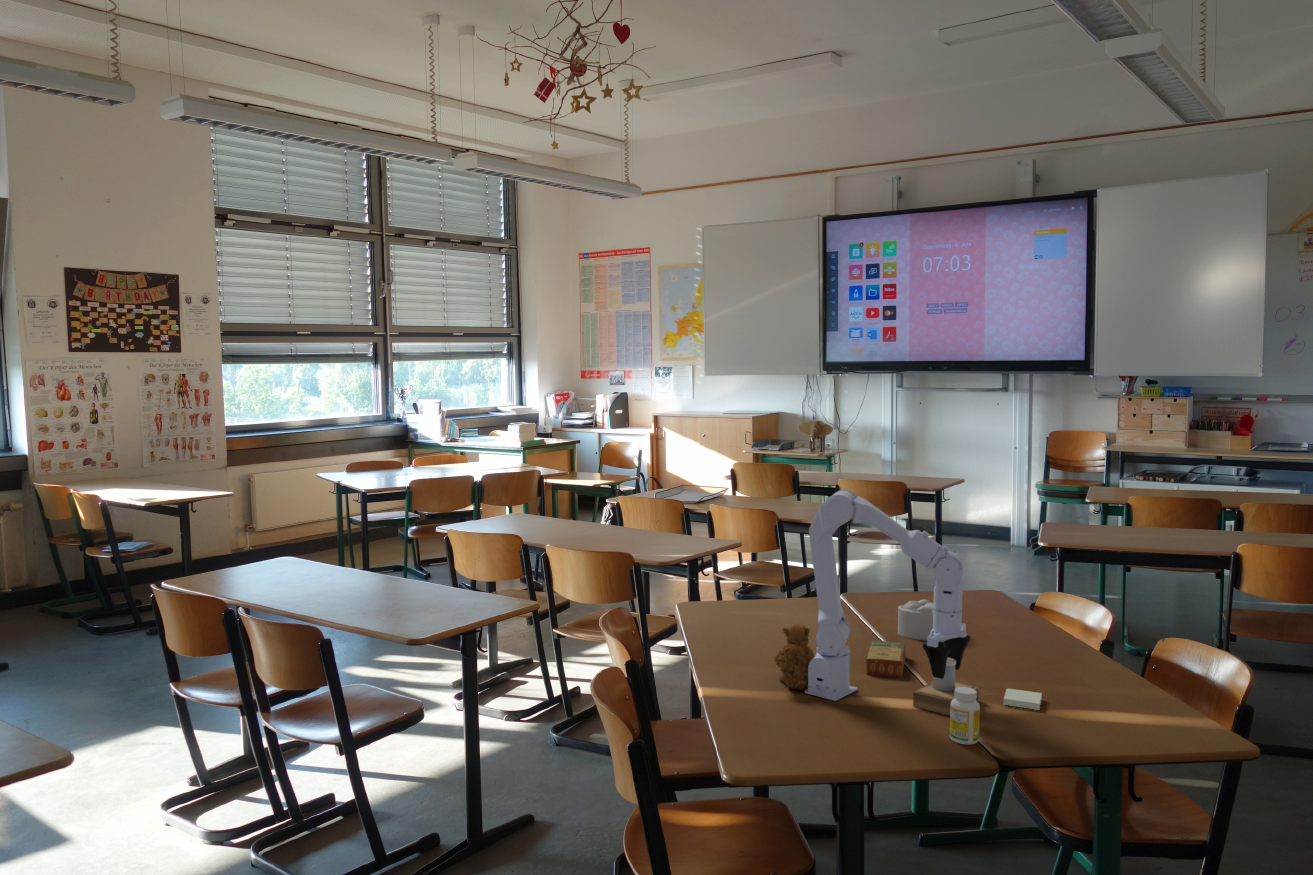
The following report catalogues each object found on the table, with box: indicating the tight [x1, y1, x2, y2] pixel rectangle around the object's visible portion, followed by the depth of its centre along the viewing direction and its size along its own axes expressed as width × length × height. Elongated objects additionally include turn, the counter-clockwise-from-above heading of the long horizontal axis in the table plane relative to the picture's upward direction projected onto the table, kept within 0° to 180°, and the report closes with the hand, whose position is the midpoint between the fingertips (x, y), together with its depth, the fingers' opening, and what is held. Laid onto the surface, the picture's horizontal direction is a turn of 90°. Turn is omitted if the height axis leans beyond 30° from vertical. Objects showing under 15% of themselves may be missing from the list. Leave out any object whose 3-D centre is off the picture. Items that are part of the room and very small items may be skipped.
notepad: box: [1003, 688, 1043, 711], centre depth 197 cm, size 7×7×2 cm
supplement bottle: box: [949, 687, 981, 746], centre depth 177 cm, size 5×5×10 cm
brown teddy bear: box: [772, 623, 815, 691], centre depth 209 cm, size 10×14×13 cm
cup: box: [932, 658, 956, 692], centre depth 196 cm, size 5×5×6 cm
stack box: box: [912, 680, 980, 716], centre depth 196 cm, size 12×9×3 cm
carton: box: [865, 640, 907, 678], centre depth 222 cm, size 8×16×4 cm, turn 163°
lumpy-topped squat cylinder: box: [897, 598, 934, 641], centre depth 247 cm, size 10×13×9 cm
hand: (946, 672), depth 196 cm, fingers open, 7 cm apart
